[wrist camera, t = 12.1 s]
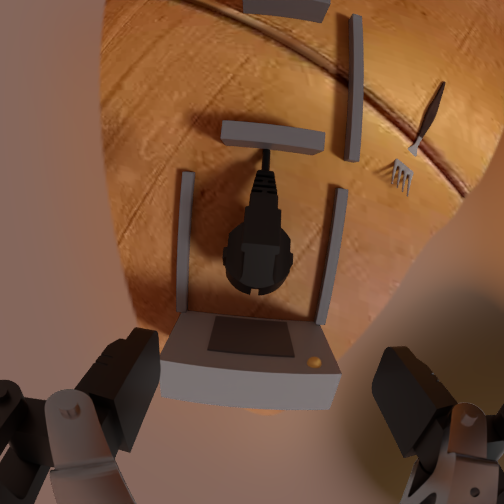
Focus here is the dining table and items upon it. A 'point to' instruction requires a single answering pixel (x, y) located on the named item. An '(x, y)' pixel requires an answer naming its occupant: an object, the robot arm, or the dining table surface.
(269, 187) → the power plug
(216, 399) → the socket block
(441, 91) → the fork
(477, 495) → the robot arm
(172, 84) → the dining table surface
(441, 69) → the dining table surface
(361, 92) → the plug holster
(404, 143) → the dining table surface
